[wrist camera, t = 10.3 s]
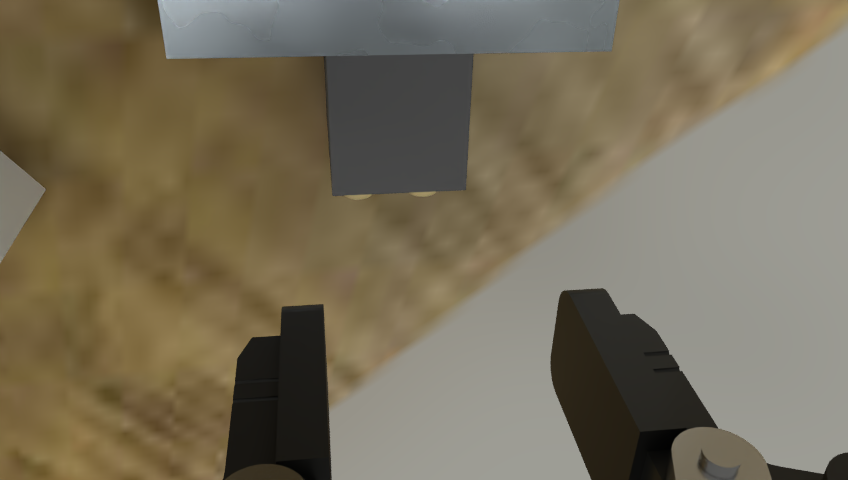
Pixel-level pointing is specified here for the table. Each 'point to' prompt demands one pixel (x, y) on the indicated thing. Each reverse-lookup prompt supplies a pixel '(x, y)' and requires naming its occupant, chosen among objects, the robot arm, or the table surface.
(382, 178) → the plug
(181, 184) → the table surface
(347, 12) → the grey arch bracket
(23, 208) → the white wedge bracket
